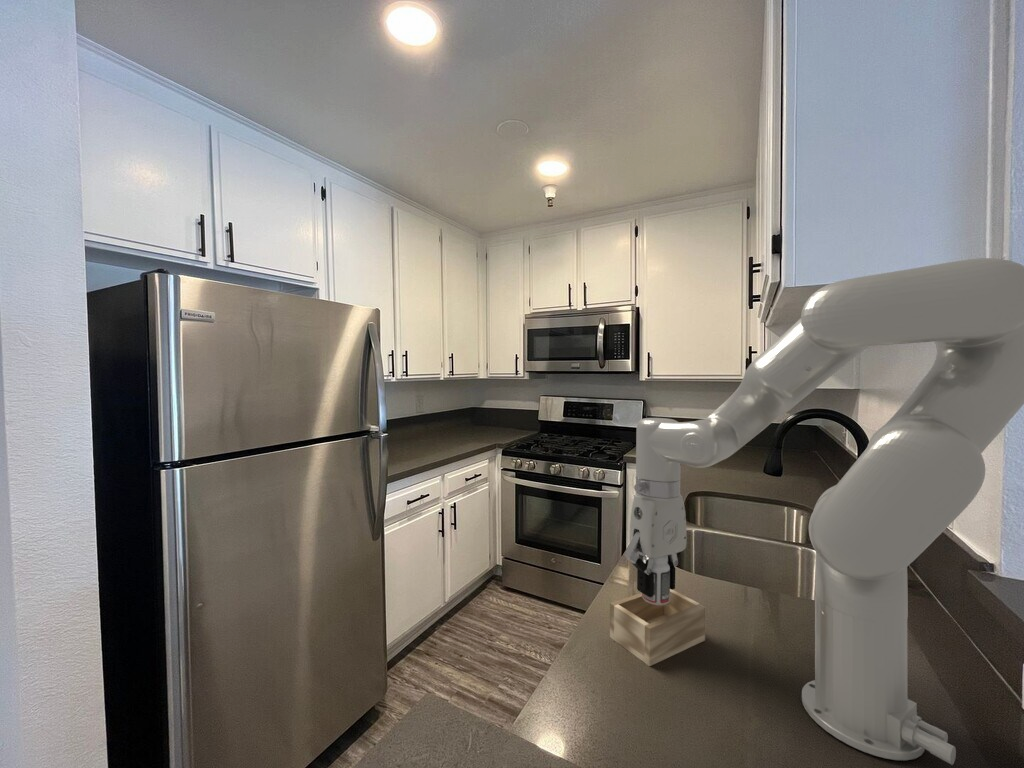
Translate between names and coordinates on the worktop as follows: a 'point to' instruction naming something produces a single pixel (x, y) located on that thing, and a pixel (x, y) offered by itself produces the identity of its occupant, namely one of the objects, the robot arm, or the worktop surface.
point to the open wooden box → (657, 626)
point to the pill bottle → (660, 582)
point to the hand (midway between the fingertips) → (656, 588)
